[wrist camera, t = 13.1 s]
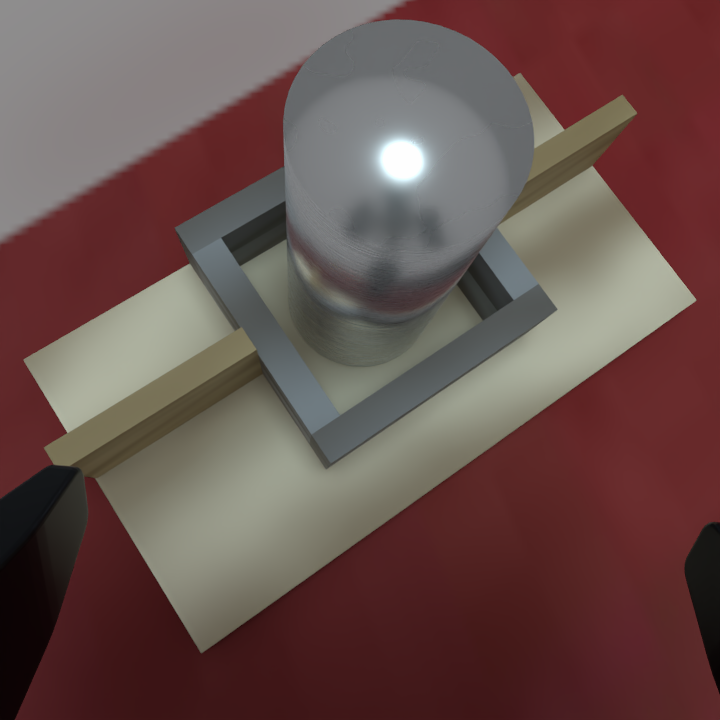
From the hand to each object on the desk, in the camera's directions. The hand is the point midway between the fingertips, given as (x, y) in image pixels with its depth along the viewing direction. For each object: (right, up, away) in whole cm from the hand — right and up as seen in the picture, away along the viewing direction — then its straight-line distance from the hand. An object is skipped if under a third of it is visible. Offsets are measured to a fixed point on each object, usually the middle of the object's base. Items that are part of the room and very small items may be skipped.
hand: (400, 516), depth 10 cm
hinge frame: (0, +3, +15) cm, 15 cm away
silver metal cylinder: (-1, +4, +14) cm, 14 cm away
